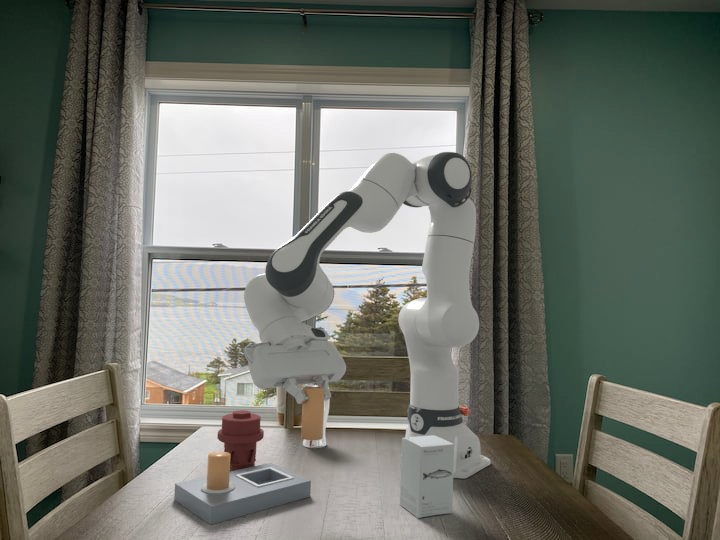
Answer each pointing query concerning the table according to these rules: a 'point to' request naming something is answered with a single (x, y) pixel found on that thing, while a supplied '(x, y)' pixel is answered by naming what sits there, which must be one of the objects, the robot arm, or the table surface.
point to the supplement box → (427, 475)
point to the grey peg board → (239, 489)
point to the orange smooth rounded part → (313, 414)
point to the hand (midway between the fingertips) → (315, 400)
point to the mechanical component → (241, 438)
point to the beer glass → (322, 441)
